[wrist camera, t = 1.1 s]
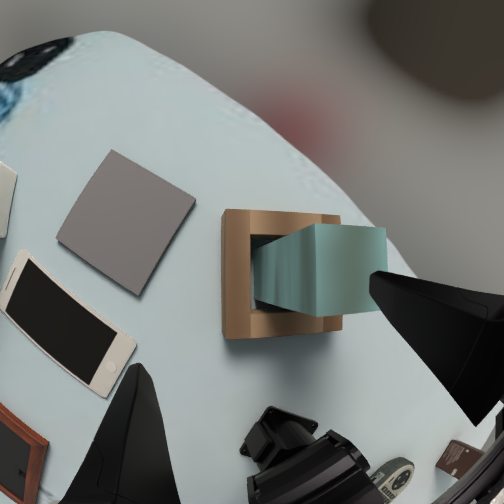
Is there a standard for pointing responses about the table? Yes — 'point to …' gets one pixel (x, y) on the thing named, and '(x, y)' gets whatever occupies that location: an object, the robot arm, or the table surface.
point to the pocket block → (238, 275)
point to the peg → (321, 269)
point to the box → (459, 458)
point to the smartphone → (64, 325)
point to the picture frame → (20, 458)
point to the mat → (124, 220)
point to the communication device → (393, 478)
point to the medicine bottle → (6, 196)
